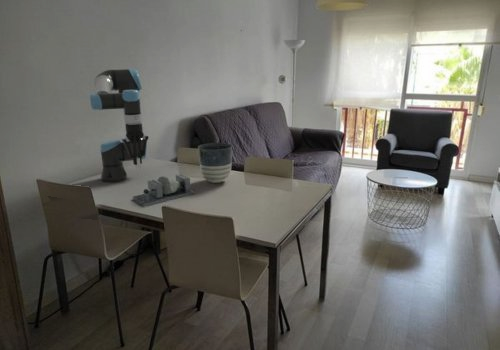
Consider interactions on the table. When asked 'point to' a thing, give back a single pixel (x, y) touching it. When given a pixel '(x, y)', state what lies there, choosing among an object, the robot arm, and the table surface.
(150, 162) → the table surface
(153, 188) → the jaw
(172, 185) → the decorative stone
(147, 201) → the vise base
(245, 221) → the table surface
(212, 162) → the planter
